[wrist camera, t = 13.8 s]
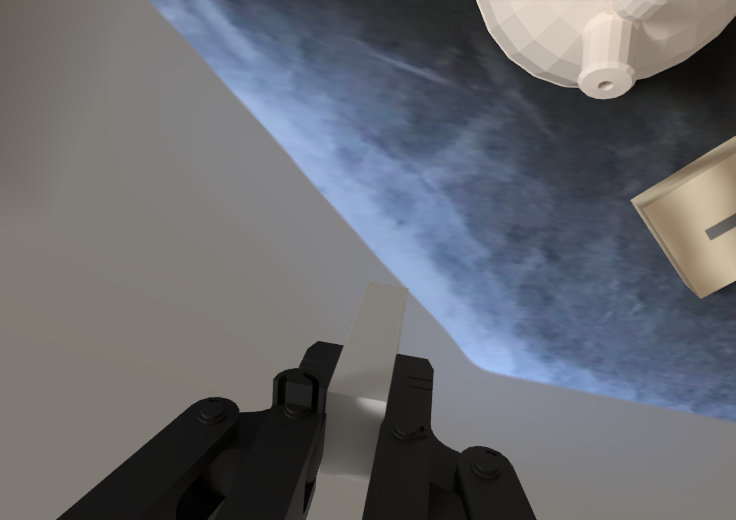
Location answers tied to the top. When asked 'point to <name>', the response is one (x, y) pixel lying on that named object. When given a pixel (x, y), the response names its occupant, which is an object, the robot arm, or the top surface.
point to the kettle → (603, 37)
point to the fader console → (697, 219)
